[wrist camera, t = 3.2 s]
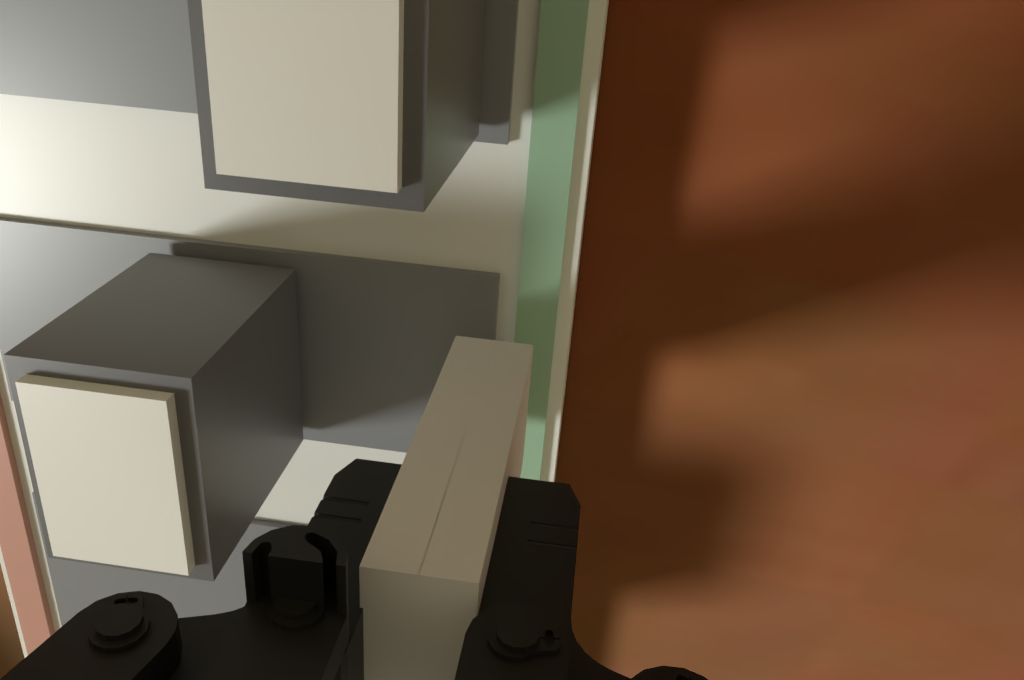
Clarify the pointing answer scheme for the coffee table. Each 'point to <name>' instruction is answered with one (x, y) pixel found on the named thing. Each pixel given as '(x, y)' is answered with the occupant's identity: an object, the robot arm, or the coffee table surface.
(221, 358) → the block
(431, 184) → the block
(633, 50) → the coffee table surface
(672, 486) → the coffee table surface
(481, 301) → the panel
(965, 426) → the coffee table surface
